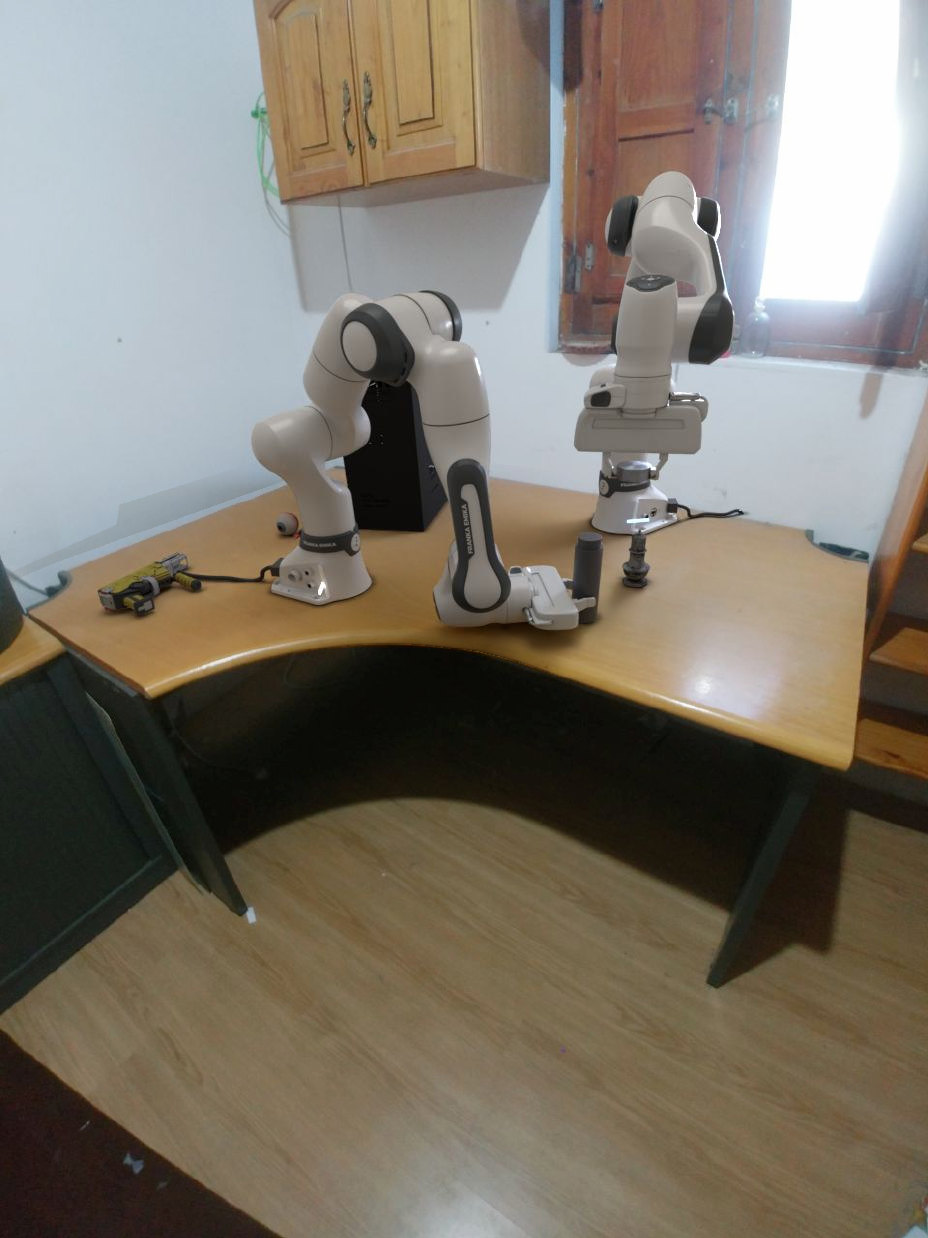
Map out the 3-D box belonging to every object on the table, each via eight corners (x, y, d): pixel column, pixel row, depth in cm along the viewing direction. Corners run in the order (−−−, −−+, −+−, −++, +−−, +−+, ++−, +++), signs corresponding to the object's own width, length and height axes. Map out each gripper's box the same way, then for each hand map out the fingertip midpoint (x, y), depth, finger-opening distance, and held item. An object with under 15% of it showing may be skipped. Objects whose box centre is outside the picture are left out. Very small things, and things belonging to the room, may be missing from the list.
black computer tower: (424, 530, 162) (407, 348, 139) (353, 528, 166) (326, 351, 144) (457, 486, 193) (448, 332, 171) (397, 485, 198) (380, 334, 175)
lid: (609, 478, 103) (610, 466, 102) (627, 470, 106) (628, 458, 105) (639, 484, 99) (640, 471, 98) (656, 476, 103) (657, 464, 102)
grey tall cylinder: (602, 618, 118) (610, 537, 109) (581, 625, 115) (588, 543, 107) (585, 608, 121) (591, 529, 113) (565, 614, 119) (569, 534, 111)
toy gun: (225, 560, 144) (174, 549, 148) (148, 603, 124) (91, 589, 127) (228, 578, 146) (177, 567, 150) (152, 623, 126) (96, 609, 130)
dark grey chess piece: (649, 588, 127) (655, 535, 121) (620, 586, 128) (625, 534, 122) (647, 575, 132) (653, 524, 126) (620, 574, 133) (624, 523, 127)
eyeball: (273, 537, 164) (268, 516, 161) (287, 528, 169) (282, 508, 166) (291, 539, 161) (286, 518, 158) (305, 530, 166) (301, 510, 163)
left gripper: (528, 611, 105) (606, 603, 105) (510, 562, 122) (577, 556, 123) (528, 641, 108) (604, 634, 109) (510, 590, 125) (575, 584, 126)
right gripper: (709, 388, 96) (697, 474, 102) (579, 389, 101) (576, 470, 108) (711, 396, 90) (698, 486, 97) (574, 396, 96) (571, 481, 103)
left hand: (589, 592), depth 116 cm, fingers closed on grey tall cylinder, 5 cm apart
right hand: (632, 478), depth 103 cm, fingers closed on lid, 5 cm apart
